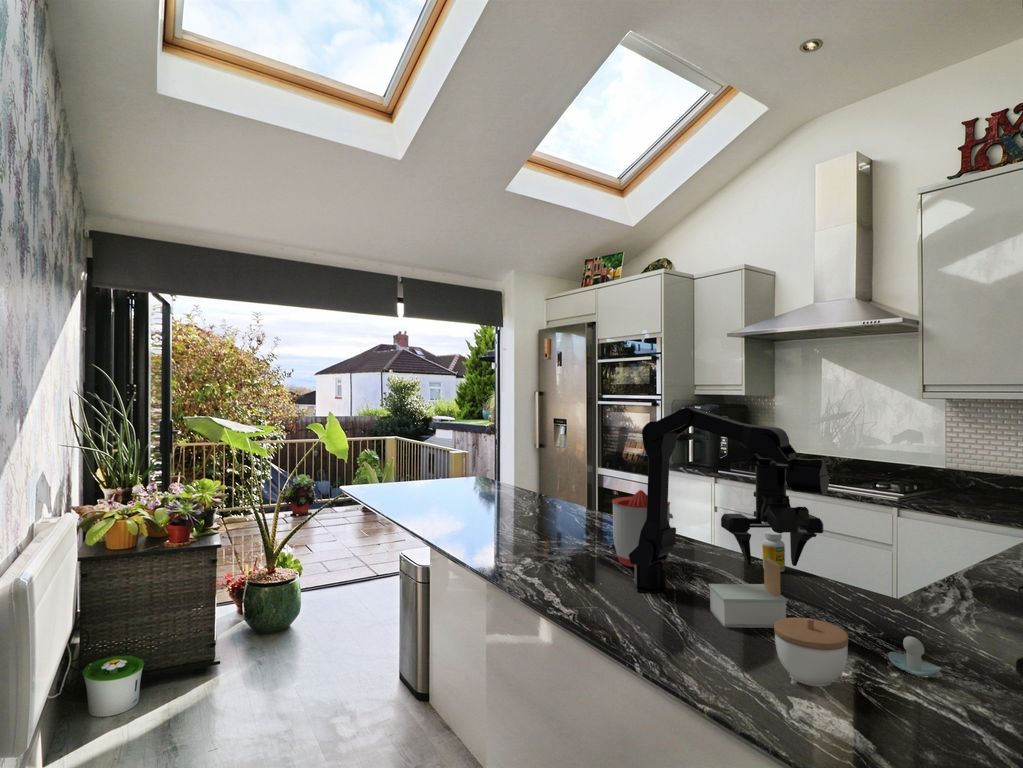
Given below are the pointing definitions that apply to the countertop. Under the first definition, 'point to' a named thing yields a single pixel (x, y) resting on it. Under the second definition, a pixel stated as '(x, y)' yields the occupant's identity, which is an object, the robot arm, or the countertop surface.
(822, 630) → the lidded jar
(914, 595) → the countertop surface
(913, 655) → the pacifier
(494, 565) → the countertop surface
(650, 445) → the robot arm
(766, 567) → the lid
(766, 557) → the supplement bottle
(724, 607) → the tub
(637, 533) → the citrus juicer
